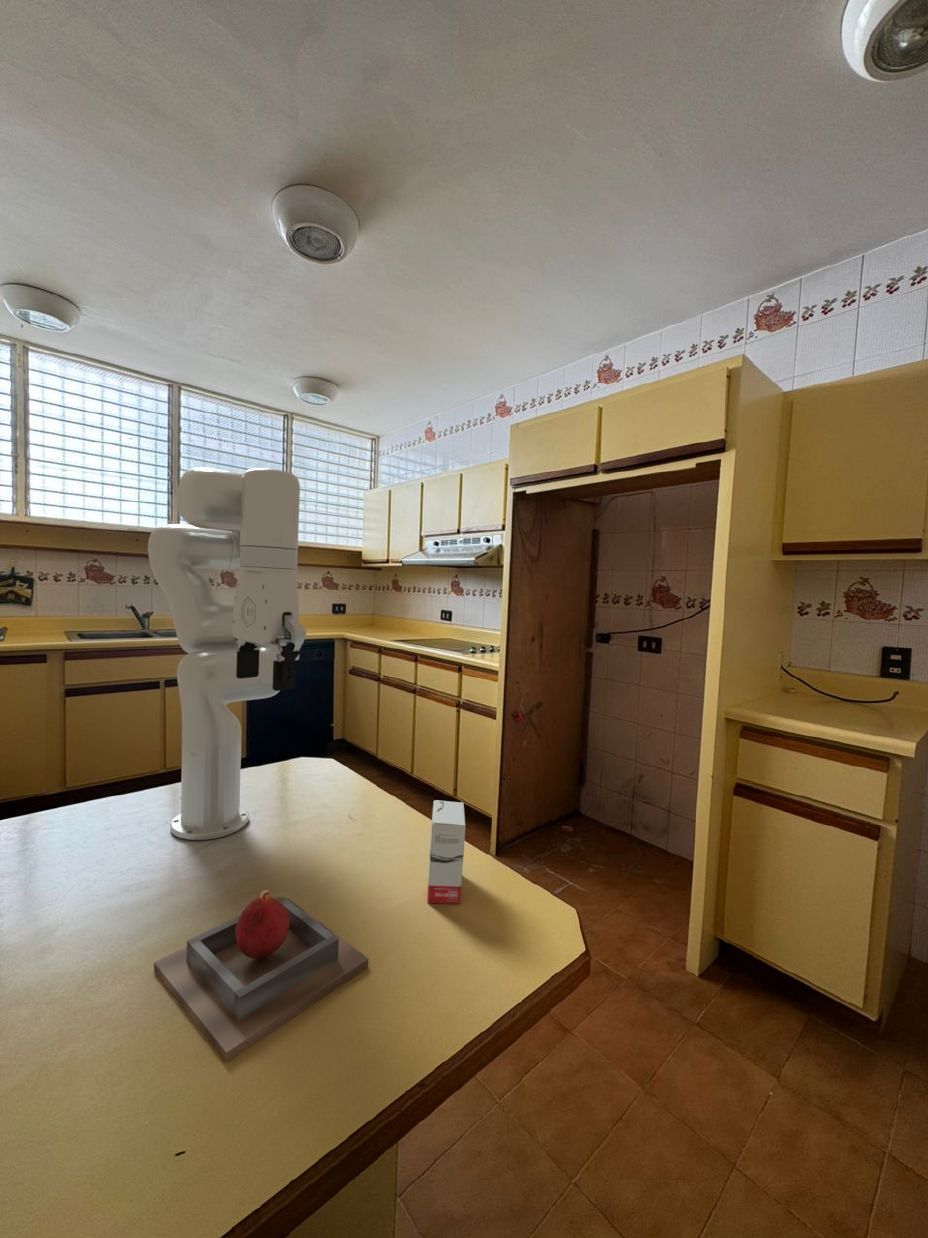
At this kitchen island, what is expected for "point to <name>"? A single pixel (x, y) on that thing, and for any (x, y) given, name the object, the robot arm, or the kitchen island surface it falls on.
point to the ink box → (446, 852)
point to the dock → (256, 979)
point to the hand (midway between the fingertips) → (265, 683)
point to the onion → (262, 927)
